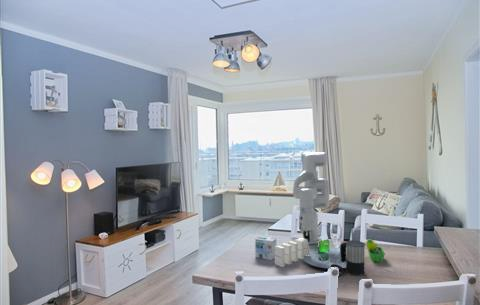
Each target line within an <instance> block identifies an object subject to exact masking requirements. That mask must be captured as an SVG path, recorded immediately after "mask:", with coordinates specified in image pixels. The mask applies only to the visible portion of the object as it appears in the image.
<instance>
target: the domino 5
mask: <svg viewBox="0 0 480 305" xmlns="http://www.w3.org/2000/svg"><path fill="white" fill-rule="evenodd" d="M298 239H299V240H302V241H304V255H307V256H308V255H310V256H311V250H310V246H309V245H310V244H308V239H305V238H303V237H299V238H298ZM307 256H306V257H307Z"/></svg>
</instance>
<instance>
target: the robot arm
mask: <svg viewBox="0 0 480 305" xmlns="http://www.w3.org/2000/svg"><path fill="white" fill-rule="evenodd" d="M300 158H301V159H300V160H301V166H302V169H301V170H302V171H301V173H300V174H299V175H298V176H297V177H296V178H295V180H294V182H293V187H292V188H293V191H292V195H293V197H294V199H297V200H299V215H298V230H299V233H300V234H302V238H305V239H308V244H309V245H317V244H319V243H318V241H319V239H320V238H319V237H322V233H320V232H319V224H318V223H319V214H318V212H317V211H316V210H315V209H324V210H325V209H328V208H329V206H330V183H329V180H328V179H327V178H319V177H318V176H319V175H318V171H317V168H321V167H322V168H323V167H326V166H327V163H328V154H327V152H326V151H325V152H324V151H307V152H303V153H302V154H301V156H300ZM303 183H304V185H303V186H300V185H301V184H303Z"/></svg>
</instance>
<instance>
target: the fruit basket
mask: <svg viewBox="0 0 480 305" xmlns="http://www.w3.org/2000/svg"><path fill="white" fill-rule="evenodd" d="M365 241H366V242H365V244H366V248H367V251H368V256H369V257H370V260H371V262H373V263H376V262H377V263H383V261H384V257H385V255H386V253H385V251H384V250H383V248H382V247H380V246H378V243H376V242H375V241H374V240H373V239H372V238H367V239H366V240H365Z"/></svg>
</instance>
